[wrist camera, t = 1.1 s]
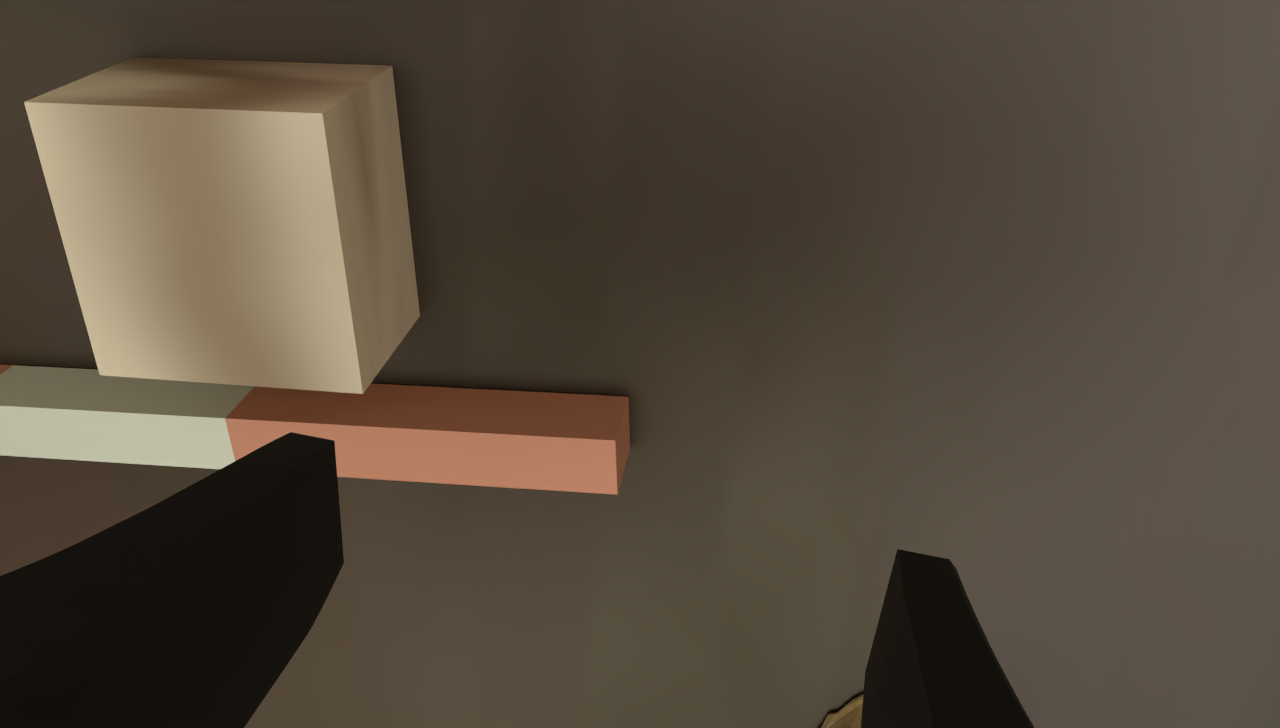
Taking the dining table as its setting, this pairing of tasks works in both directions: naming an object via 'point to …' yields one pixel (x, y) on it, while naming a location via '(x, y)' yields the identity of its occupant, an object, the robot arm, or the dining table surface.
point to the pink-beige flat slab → (322, 428)
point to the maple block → (233, 219)
